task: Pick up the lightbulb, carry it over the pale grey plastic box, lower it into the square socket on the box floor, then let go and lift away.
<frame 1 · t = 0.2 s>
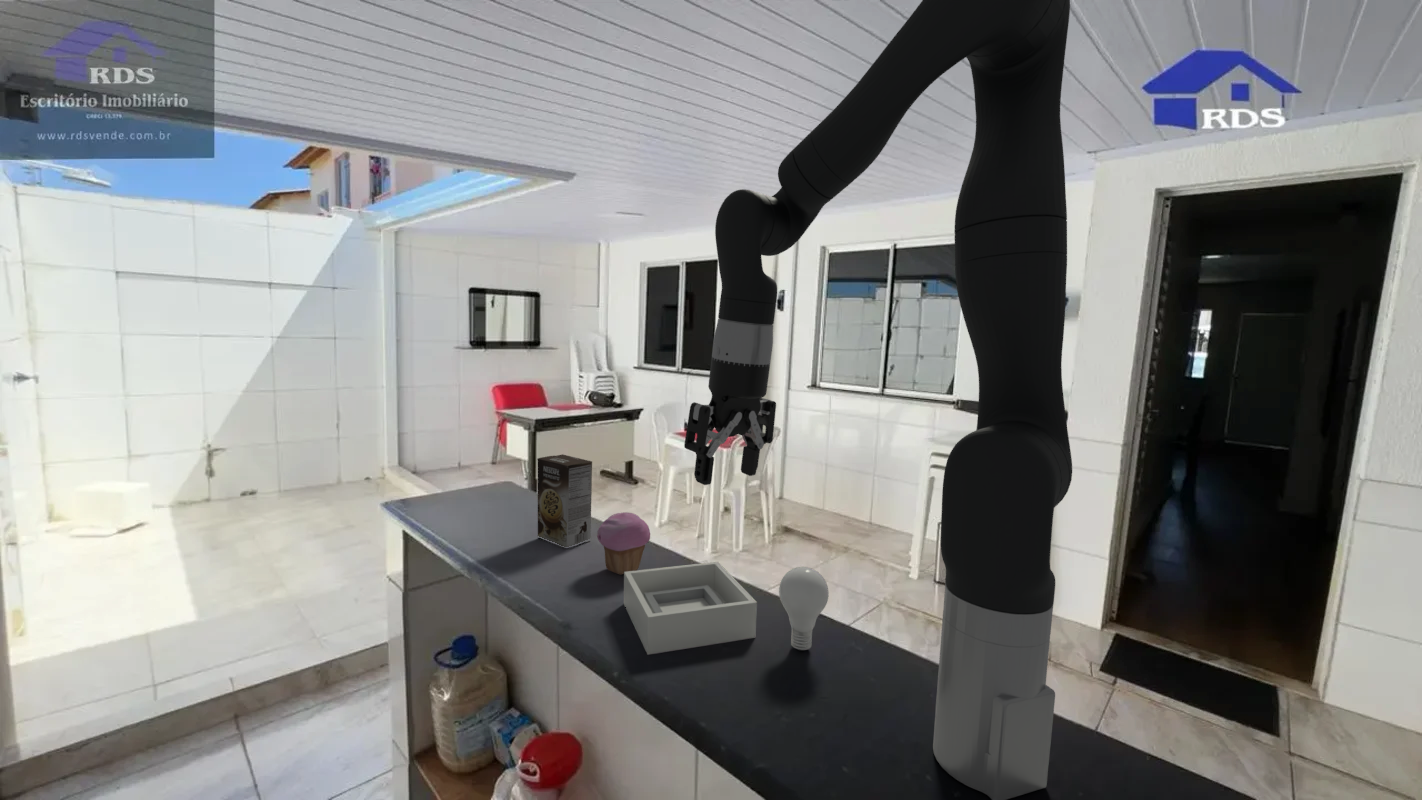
hand: (726, 478, 79), 22 cm above the counter, tool pointing down, fingers open, 8 cm apart
walled box: (686, 619, 85), on the counter
coffee box: (564, 541, 116), on the counter
lightbulb: (800, 650, 78), on the counter
cupcake: (623, 571, 102), on the counter
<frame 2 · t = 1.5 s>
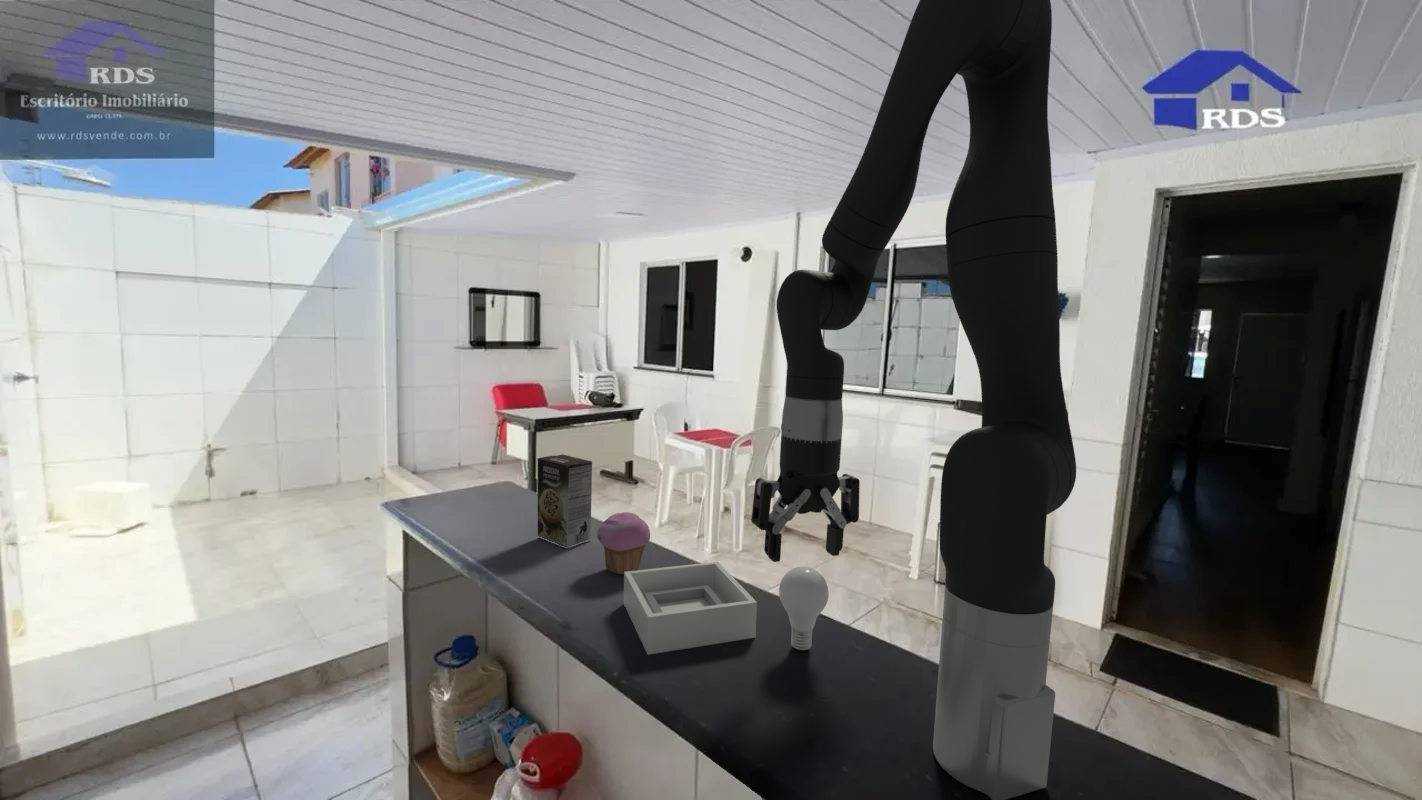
hand: (803, 556, 77), 13 cm above the counter, tool pointing down, fingers open, 8 cm apart
nothing on the counter moved.
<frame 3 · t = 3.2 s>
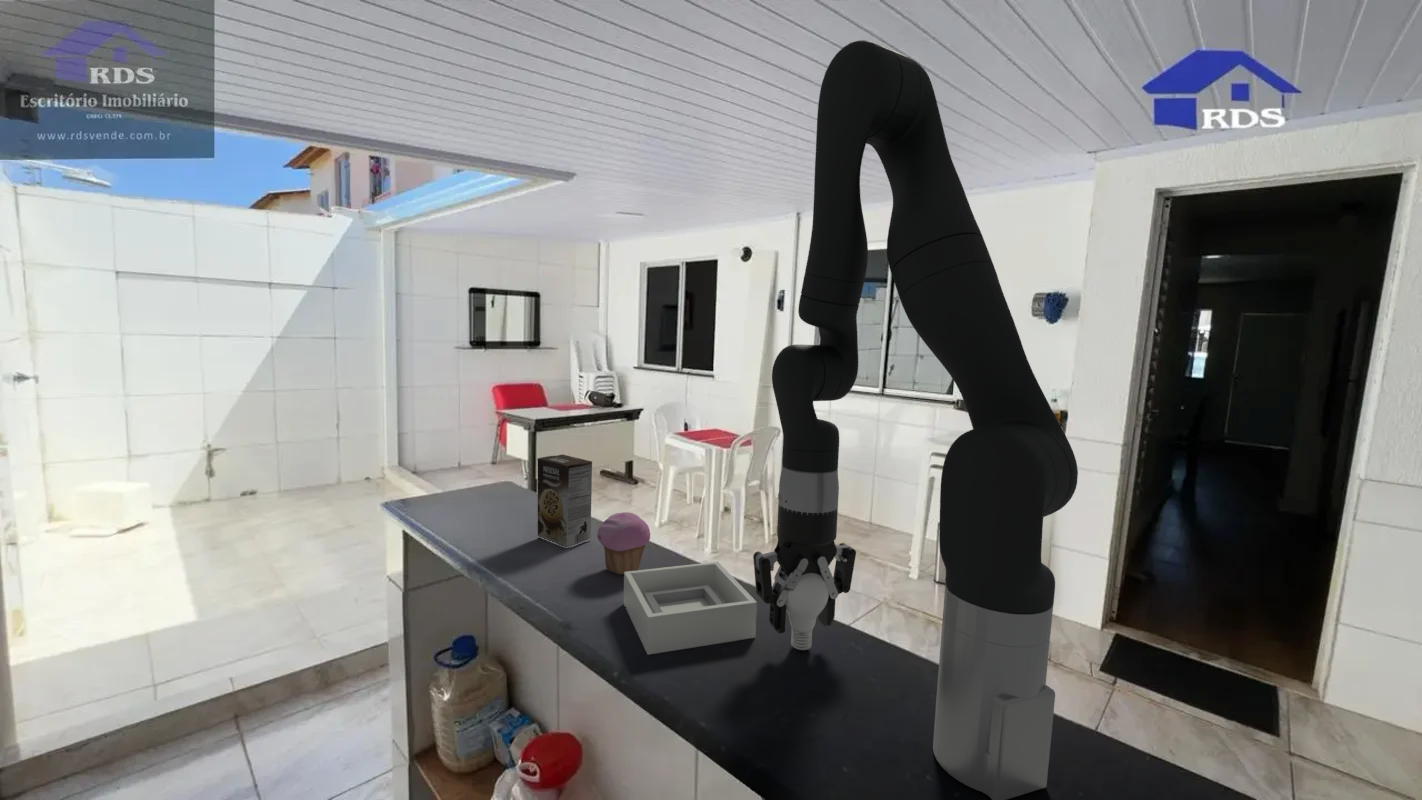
hand: (802, 626, 78), 3 cm above the counter, tool pointing down, fingers closed on lightbulb, 6 cm apart
lightbulb: (800, 650, 78), on the counter, touching gripper
everything else where it was.
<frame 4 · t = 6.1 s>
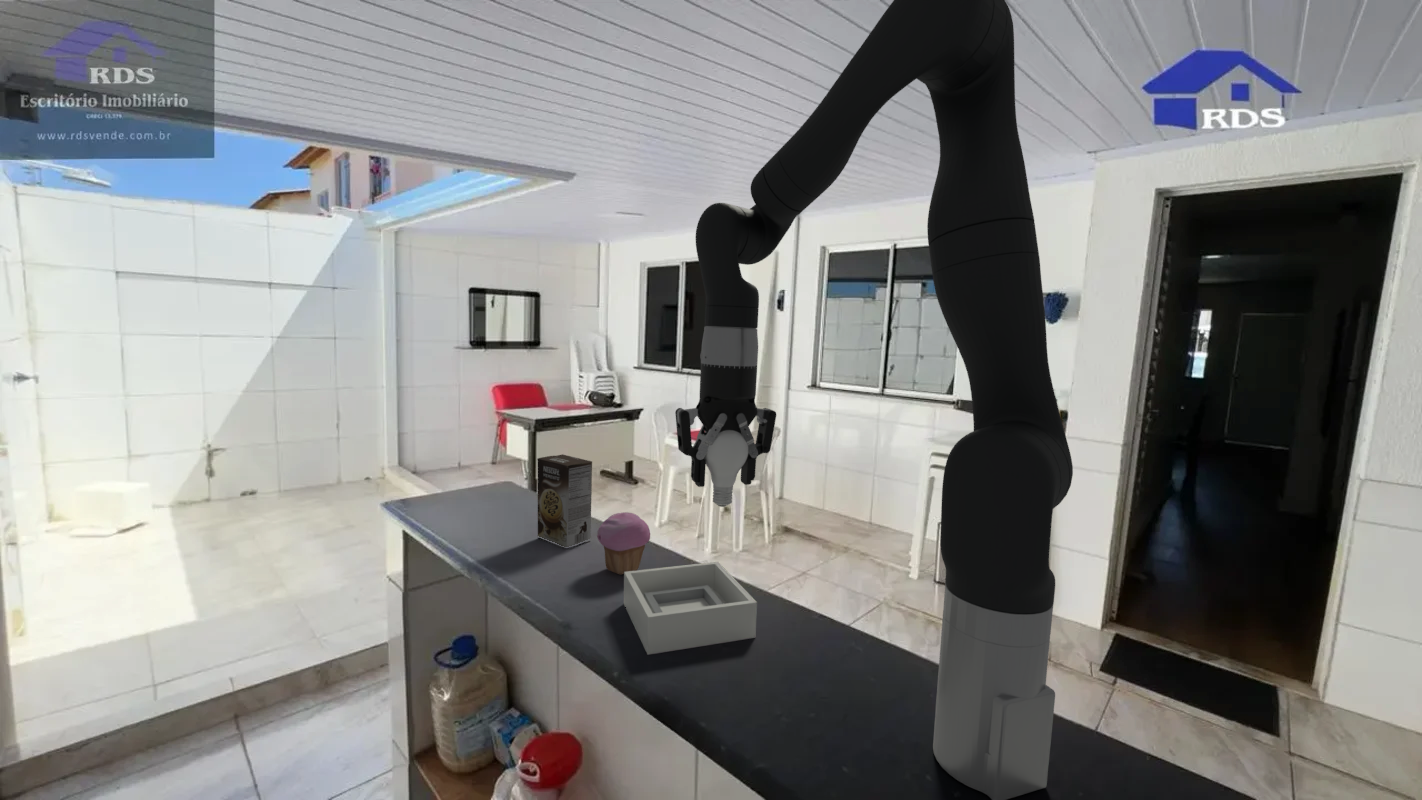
hand: (723, 483, 81), 20 cm above the counter, tool pointing down, fingers closed on lightbulb, 6 cm apart
lightbulb: (722, 507, 82), point 17 cm above the counter, touching gripper
everything else where it was.
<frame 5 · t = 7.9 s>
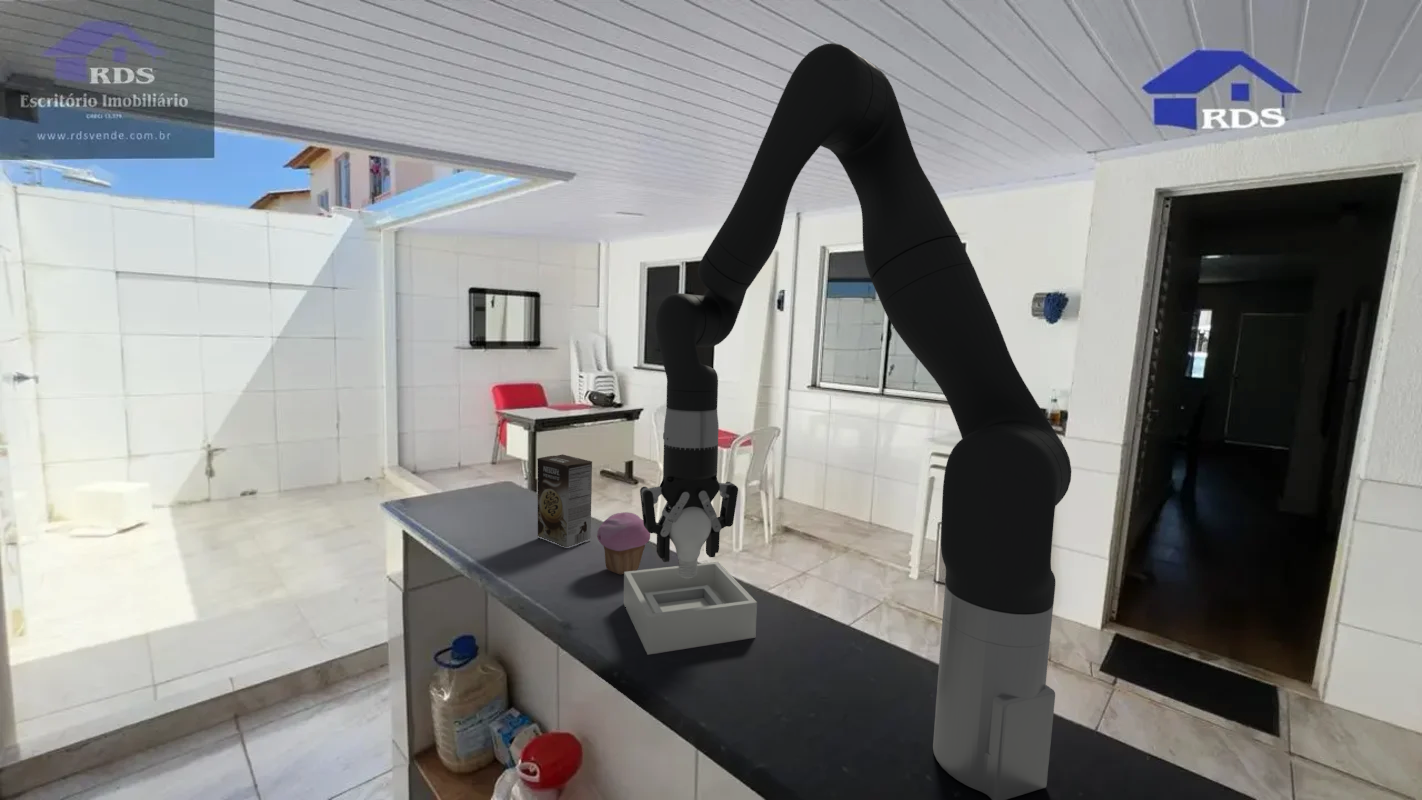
hand: (688, 557, 84), 9 cm above the counter, tool pointing down, fingers closed on lightbulb, 6 cm apart
lightbulb: (687, 579, 85), point 6 cm above the counter, touching gripper
everything else where it was.
when the fingers open (7 cm above the counter, at t = 9.4 s): lightbulb drops 2 cm, resting on walled box.
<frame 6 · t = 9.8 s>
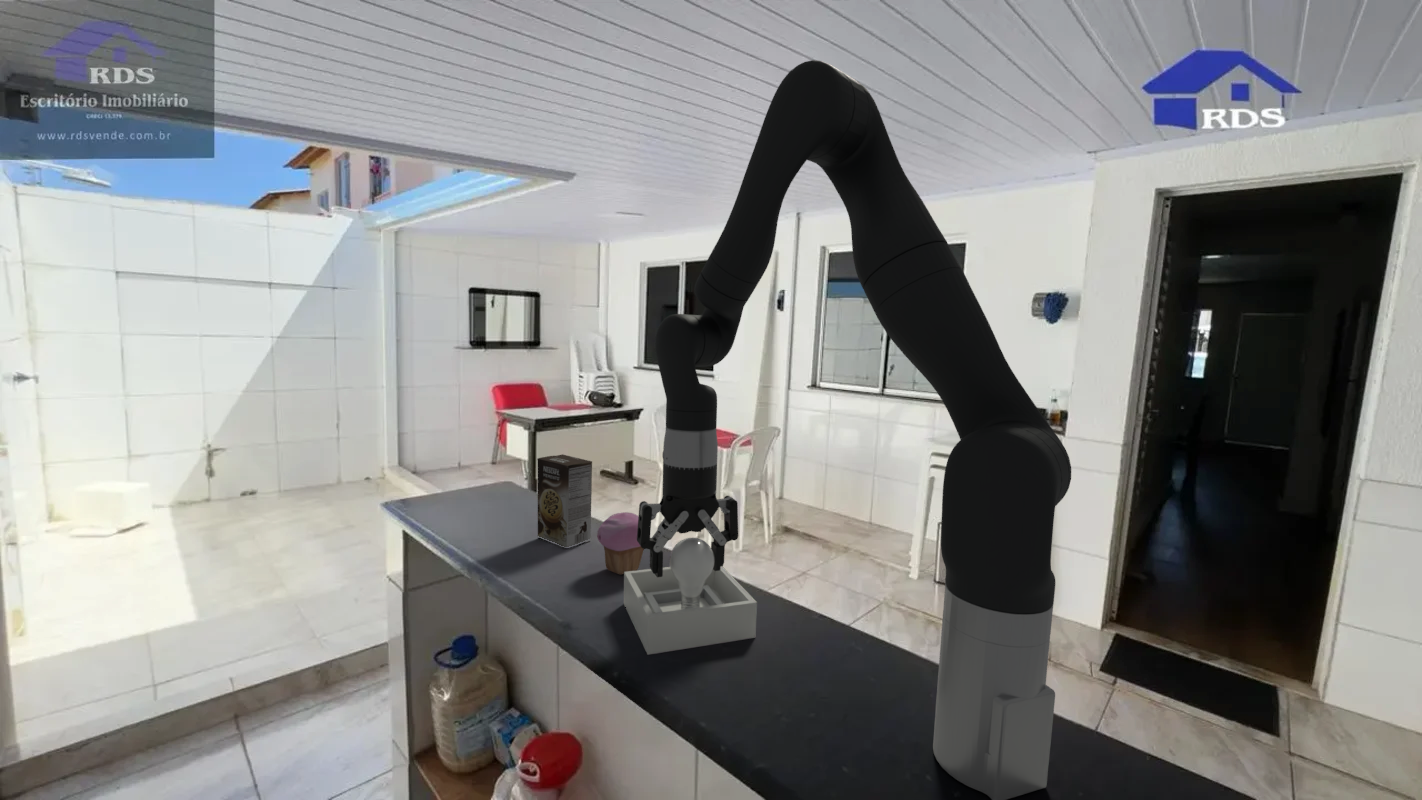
hand: (687, 572, 84), 7 cm above the counter, tool pointing down, fingers open, 8 cm apart
lightbulb: (690, 614, 85), point 1 cm above the counter, touching walled box
everything else where it was.
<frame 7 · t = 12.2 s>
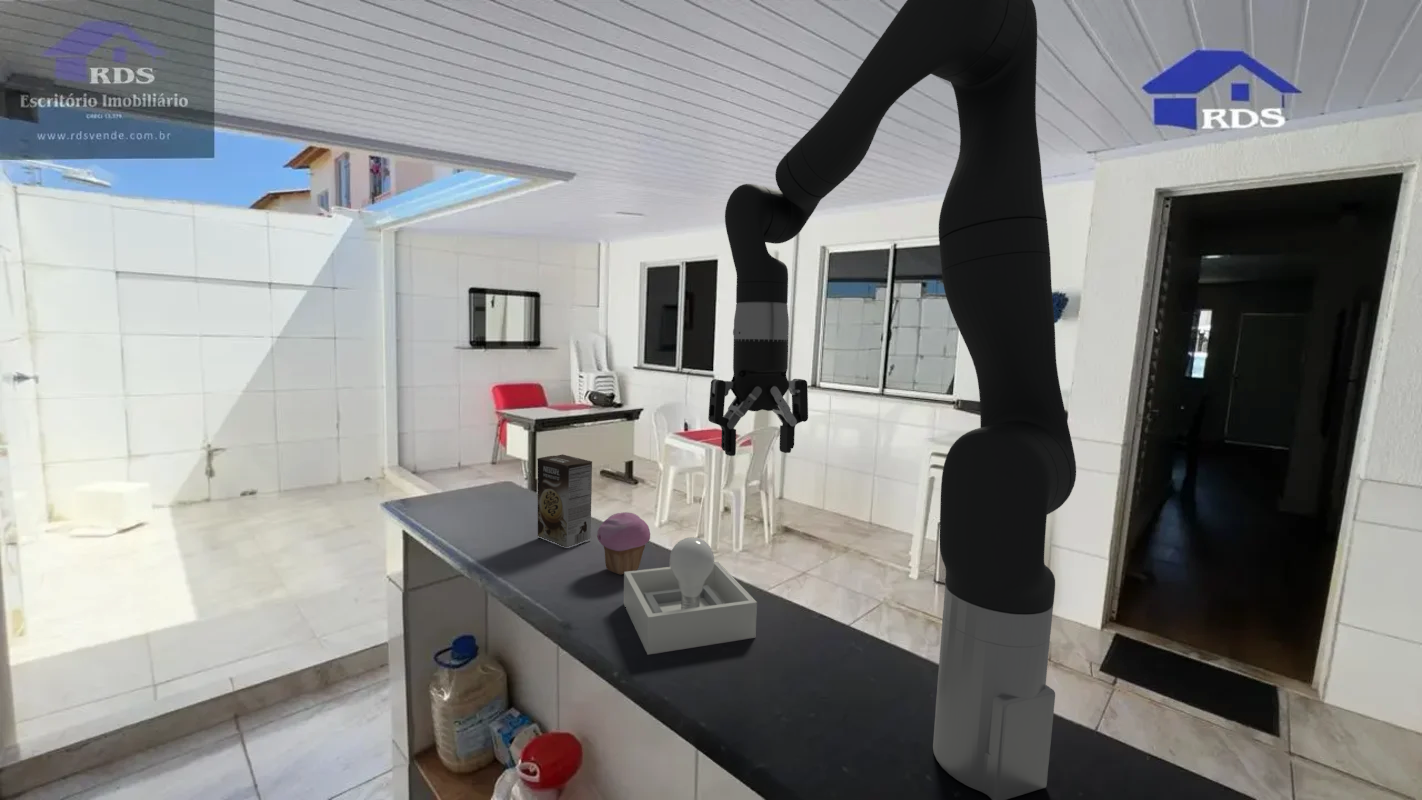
hand: (758, 453, 83), 24 cm above the counter, tool pointing down, fingers open, 8 cm apart
nothing on the counter moved.
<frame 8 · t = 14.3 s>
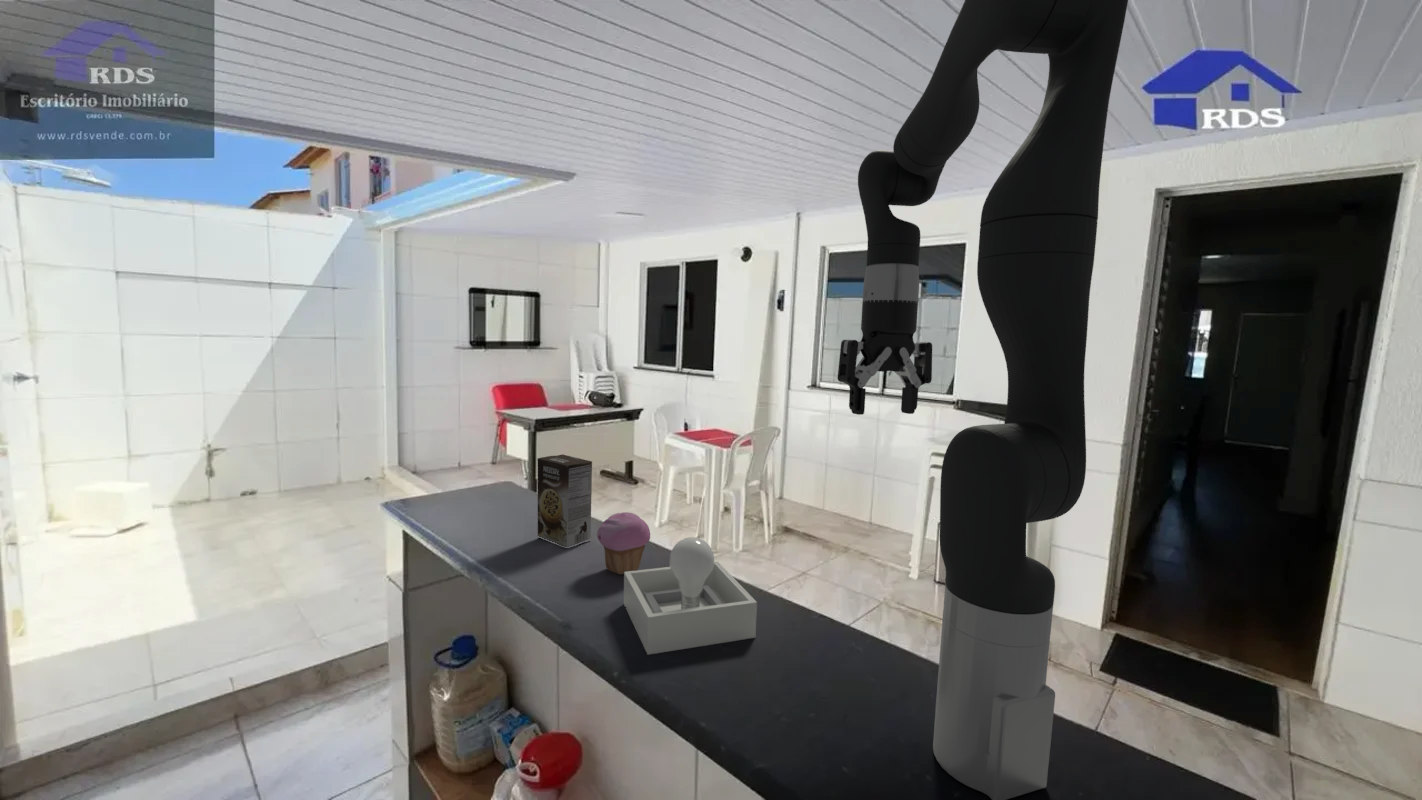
hand: (883, 413, 86), 30 cm above the counter, tool pointing down, fingers open, 8 cm apart
nothing on the counter moved.
at the end: lightbulb 0.5 cm off-centre on the walled box, point 0.8 cm above the walled box's base; lightbulb tilted 0°; the gripper is holding nothing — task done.
